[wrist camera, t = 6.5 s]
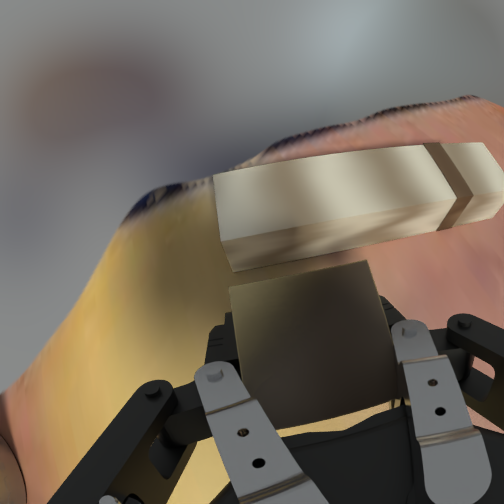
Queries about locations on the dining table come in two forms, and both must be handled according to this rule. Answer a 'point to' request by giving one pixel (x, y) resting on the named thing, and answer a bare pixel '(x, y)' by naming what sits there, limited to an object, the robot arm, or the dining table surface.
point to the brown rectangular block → (314, 344)
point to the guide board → (352, 200)
